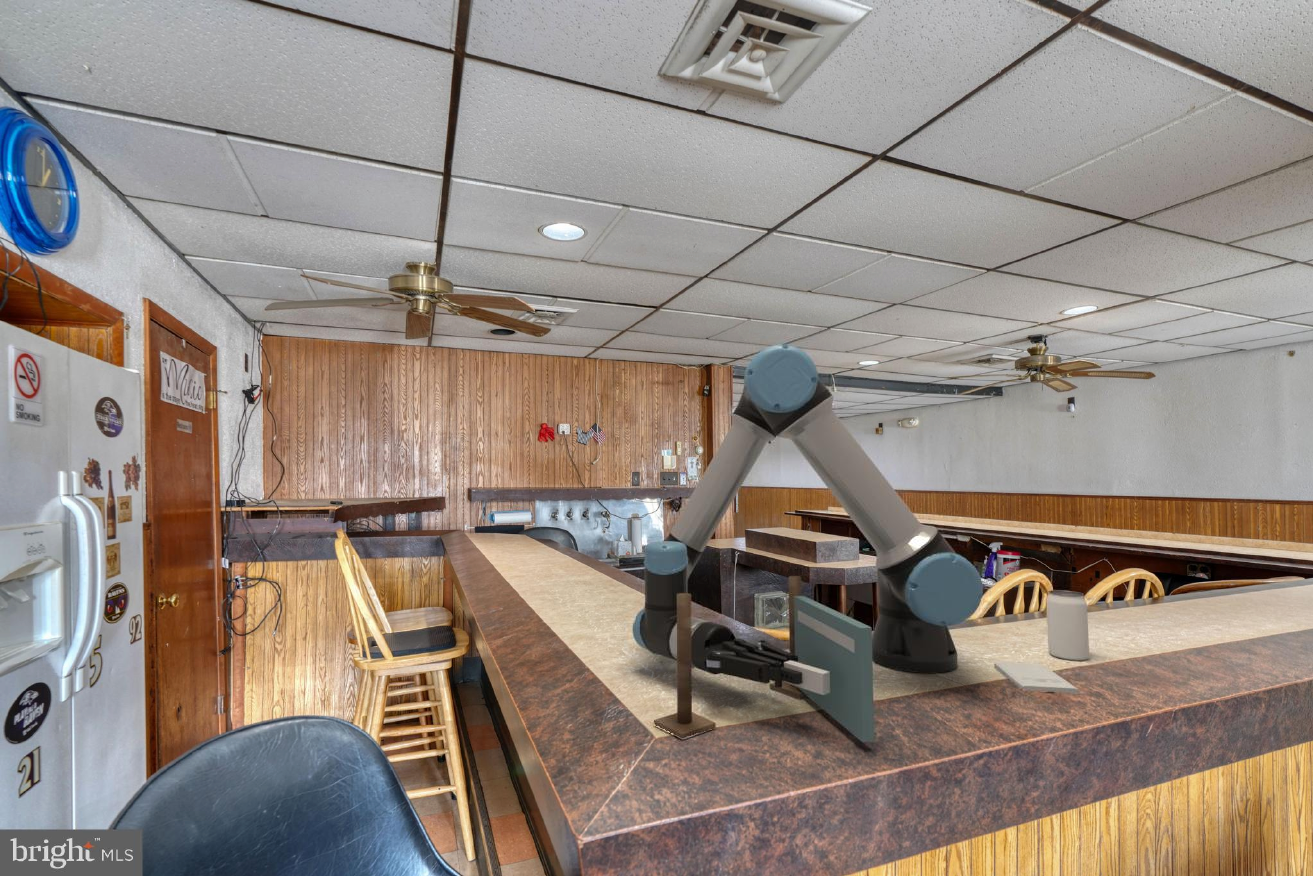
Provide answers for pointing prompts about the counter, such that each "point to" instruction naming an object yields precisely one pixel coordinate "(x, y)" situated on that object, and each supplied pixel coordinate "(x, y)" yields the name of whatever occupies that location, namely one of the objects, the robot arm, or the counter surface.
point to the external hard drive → (1034, 677)
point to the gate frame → (685, 719)
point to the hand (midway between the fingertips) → (826, 683)
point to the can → (1067, 625)
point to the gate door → (838, 663)
